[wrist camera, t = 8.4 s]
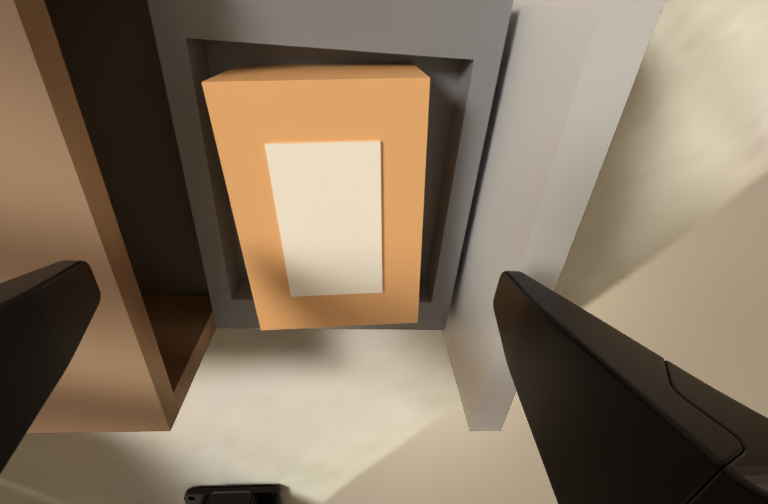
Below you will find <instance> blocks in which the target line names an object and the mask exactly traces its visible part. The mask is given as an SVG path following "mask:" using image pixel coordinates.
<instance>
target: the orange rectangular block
mask: <svg viewBox="0 0 768 504" xmlns="http://www.w3.org/2000/svg"><path fill="white" fill-rule="evenodd" d="M202 87H203V91H204V95H205V99H206V103H207V107H208V112H209V116H210V120H211V124H212V128H213V132H214V137H215V141H216V145H217V149H218V153H219V157H220V162H221V166H222V170H223V174H224V178H225V182H226V187H227V191H228V195H229V199H230V203H231V207H232V212H233V216H234V220H235V224H236V228H237V232H238V237H239V241H240V245H241V249H242V253H243V257H244V262H245V266H246V270H247V274H248V278H249V282H250V287H251V291H252V295H253V299H254V303H255V307H256V312H257V316H258V320H259V324H260V328H261V330H281V329H301V328H320V327H340V326H360V325H380V324H399V323H418V306H419V287H420V267H421V248H422V228H423V209H424V189H425V169H426V150H427V130H428V111H429V91H430V77H429V76H427V75H426V74H425V73H424V72H423V71H422V70H420V69H419V68H418V67H417V66H416V65H414V64H413V63H353V64H290V65H239V66H236V67H234V68H232V69H230V70H227V71H225V72H223V73H220V74H218V75H216V76H214V77H211V78H209V79H207V80H205V81H202Z"/></svg>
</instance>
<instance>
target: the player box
mask: <svg viewBox="0 0 768 504" xmlns="http://www.w3.org/2000/svg"><path fill="white" fill-rule="evenodd" d="M62 260H81V261H85V262H87V263H88V264H89V265H90V267H91V269H92V272H93V274H94V277H95V279H96V282H97V284H98V287H99V289H100V293H101V299H100V303H99V305H98V307H97V310H96V312H95V314H94V316H93V318H92V320H91V322H90V324H89V326H88V328H87V330H86V332H85V334H84V336H83V338H82V340H81V342H80V344H79V346H78V348H77V350H76V352H75V354H74V356H73V358H72V360H71V362H70V364H69V366H68V367H67V369H66V371H65V372H64V374H63V376H62V377H61V379H60V381H59V382H58V384H57V385H56V387H55V389H54V390H53V392H52V393H51V395H50V396H49V398H48V400H47V401H46V403H45V404H44V406H43V408H42V409H41V411H40V412H39V414H38V415H37V417H36V419H35V420H34V422H33V423H32V425H31V427H30V428H29V430H28V431H27V433H76V432H140V431H171V428H172V426H173V424H174V422H175V419H176V417H177V415H178V413H179V410H180V408H181V406H182V404H183V401H184V399H185V397H186V395H187V392H188V390H189V388H190V386H191V383H192V381H193V379H194V376H195V374H196V372H197V370H198V367H199V365H200V363H201V361H202V358H203V356H204V354H205V352H206V349H207V347H208V345H209V343H210V340H211V338H212V336H213V334H214V331H215V329H216V324H215V319H214V315H213V310H212V305H211V301H210V296H173V295H141V293H140V290H139V287H138V284H137V281H136V278H135V275H134V272H133V269H132V266H131V263H130V260H129V257H128V254H127V251H126V248H125V245H124V241H123V238H122V235H121V232H120V229H119V226H118V223H117V220H116V217H115V214H114V211H113V208H112V205H111V202H110V199H109V196H108V193H107V190H106V187H105V184H104V181H103V178H102V175H101V172H100V169H99V165H98V162H97V159H96V156H95V153H94V150H93V147H92V144H91V141H90V138H89V135H88V132H87V129H86V126H85V123H84V120H83V117H82V114H81V111H80V108H79V105H78V102H77V99H76V96H75V93H74V90H73V86H72V83H71V80H70V77H69V74H68V71H67V68H66V65H65V62H64V59H63V56H62V53H61V50H60V47H59V44H58V41H57V38H56V35H55V32H54V29H53V26H52V23H51V20H50V17H49V14H48V10H47V7H46V4H45V1H44V0H0V283H2V282H5V281H7V280H10V279H13V278H16V277H18V276H21V275H24V274H26V273H29V272H32V271H34V270H37V269H40V268H43V267H45V266H48V265H51V264H53V263H56V262H59V261H62Z"/></svg>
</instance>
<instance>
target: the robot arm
mask: <svg viewBox="0 0 768 504" xmlns="http://www.w3.org/2000/svg"><path fill="white" fill-rule="evenodd" d="M100 299H101V293H100V289H99V287H98V284H97V282H96V279H95V277H94V274H93V272H92V269H91V267H90V265H89V264H88V263H87V262H85V261H81V260H62V261H59V262H56V263H53V264H51V265H48V266H45V267H43V268H40V269H37V270H34V271H32V272H29V273H26V274H24V275H21V276H18V277H16V278H13V279H10V280H7V281H5V282H2V283H0V474H1V472H2V471H3V469H4V468H5V466H6V465H7V463H8V461H9V460H10V458H11V457H12V455H13V453H14V452H15V450H16V449H17V447H18V446H19V444H20V442H21V441H22V439H23V438H24V436H25V434H26V433H27V431H28V430H29V428H30V427H31V425H32V423H33V422H34V420H35V419H36V417H37V415H38V414H39V412H40V411H41V409H42V408H43V406H44V404H45V403H46V401H47V400H48V398H49V396H50V395H51V393H52V392H53V390H54V389H55V387H56V385H57V384H58V382H59V381H60V379H61V377H62V376H63V374H64V372H65V371H66V369H67V367H68V366H69V364H70V362H71V360H72V358H73V356H74V354H75V352H76V350H77V348H78V346H79V344H80V342H81V340H82V338H83V336H84V334H85V332H86V330H87V328H88V326H89V324H90V322H91V320H92V318H93V316H94V314H95V312H96V310H97V307H98V305H99V303H100ZM493 308H494V313H495V317H496V321H497V325H498V330H499V334H500V338H501V342H502V346H503V350H504V354H505V358H506V362H507V366H508V368H509V371H510V374H511V377H512V380H513V383H514V385H515V388H516V391H517V393H518V396H519V399H520V402H521V404H522V407H523V409H524V412H525V415H526V418H527V421H528V423H529V426H530V429H531V431H532V434H533V437H534V440H535V442H536V445H537V448H538V450H539V453H540V456H541V458H542V461H543V464H544V467H545V469H546V472H547V475H548V477H549V480H550V483H551V486H552V488H553V491H554V494H555V496H556V499H557V502H558V504H768V418H766V417H764V416H762V415H761V414H759V413H757V412H755V411H753V410H751V409H750V408H748V407H746V406H745V405H743V404H741V403H739V402H737V401H736V400H734V399H732V398H730V397H728V396H727V395H725V394H723V393H721V392H719V391H718V390H716V389H714V388H712V387H711V386H709V385H707V384H705V383H704V382H702V381H701V380H699V379H697V378H695V377H694V376H692V375H691V374H689V373H687V372H686V371H684V370H682V369H680V368H679V367H677V366H676V365H674V364H672V363H671V362H669V361H664V359H663V358H662V357H661V356H659V355H657V354H656V353H654V352H652V351H651V350H649V349H648V348H646V347H644V346H642V345H641V344H639V343H638V342H636V341H634V340H633V339H631V338H629V337H628V336H626V335H625V334H623V333H621V332H620V331H618V330H616V329H615V328H613V327H611V326H610V325H608V324H607V323H605V322H603V321H602V320H600V319H598V318H597V317H595V316H593V315H592V314H590V313H588V312H587V311H585V310H583V309H582V308H580V307H579V306H577V305H575V304H574V303H572V302H570V301H569V300H567V299H565V298H564V297H562V296H560V295H559V294H557V293H556V292H554V291H552V290H551V289H549V288H547V287H546V286H544V285H542V284H541V283H539V282H537V281H536V280H534V279H533V278H531V277H529V276H528V275H526V274H524V273H523V272H521V271H504V272H502V273H501V275H500V278H499V281H498V285H497V288H496V292H495V295H494V299H493ZM184 500H185V503H186V504H283V498H282V490H281V488H280V487H277V486H261V487H227V488H193V489H188V490H187V491H186V493H185V496H184Z"/></svg>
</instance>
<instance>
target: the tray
mask: <svg viewBox="0 0 768 504" xmlns="http://www.w3.org/2000/svg"><path fill="white" fill-rule="evenodd" d="M147 2H148V7H149V12H150V16H151V21H152V26H153V31H154V35H155V40H156V45H157V50H158V54H159V59H160V64H161V69H162V73H163V78H164V83H165V87H166V92H167V97H168V102H169V106H170V111H171V116H172V121H173V125H174V130H175V135H176V140H177V144H178V149H179V154H180V159H181V163H182V168H183V173H184V177H185V182H186V187H187V192H188V196H189V201H190V206H191V211H192V215H193V220H194V225H195V230H196V234H197V239H198V244H199V248H200V253H201V258H202V263H203V267H204V272H205V277H206V282H207V286H208V291H209V296H210V301H211V305H212V310H213V315H214V319H215V324H216V328H260V324H259V320H258V316H257V312H256V307H255V303H254V299H253V295H252V291H251V287H250V282H249V278H248V274H247V270H246V266H245V262H244V257H243V253H242V249H241V245H240V241H239V237H238V232H237V228H236V224H235V220H234V216H233V212H232V207H231V203H230V199H229V195H228V191H227V187H226V182H225V178H224V174H223V170H222V166H221V162H220V157H219V153H218V149H217V145H216V141H215V137H214V132H213V128H212V124H211V120H210V116H209V112H208V107H207V103H206V99H205V95H204V91H203V87H202V81H205V80H207V79H209V78H211V77H214V76H216V75H218V74H220V73H223V72H225V71H227V70H230V69H232V68H234V67H236V66H239V65H290V64H353V63H413V64H414V65H416V66H417V67H418V68H419V69H420V70H422V71H423V72H424V73H425V74H426V75H427V76H429V77H430V91H429V111H428V130H427V150H426V169H425V189H424V209H423V228H422V248H421V267H420V287H419V306H418V323H399V324H380V325H360V326H340V327H320V328H301V329H415V330H442V332H443V336H444V340H445V343H446V347H447V351H448V354H449V358H450V361H451V365H452V369H453V372H454V376H455V380H456V383H457V387H458V390H459V394H460V398H461V401H462V405H463V409H464V412H465V415H466V419H467V423H468V427H469V430H470V431H501V429H502V427H503V424H504V421H505V419H506V416H507V414H508V411H509V408H510V406H511V403H512V400H513V397H514V395H515V392H516V388H515V385H514V383H513V380H512V377H511V374H510V371H509V368H508V366H507V362H506V358H505V354H504V350H503V346H502V342H501V338H500V334H499V330H498V325H497V321H496V317H495V313H494V308H493V299H494V295H495V292H496V288H497V285H498V281H499V278H500V275H501V273H502V272H504V271H521V272H523V273H524V274H526V275H528V276H529V277H531V278H533V279H534V280H536V281H537V282H539V283H541V284H542V285H544V286H546V287H547V288H549V289H551V290H552V291H554V290H555V288H556V285H557V283H558V280H559V277H560V275H561V272H562V269H563V267H564V264H565V262H566V259H567V256H568V254H569V251H570V248H571V246H572V243H573V241H574V238H575V235H576V233H577V230H578V227H579V225H580V222H581V220H582V217H583V214H584V212H585V209H586V207H587V204H588V201H589V199H590V196H591V193H592V191H593V188H594V186H595V183H596V180H597V178H598V175H599V172H600V170H601V167H602V165H603V162H604V159H605V157H606V154H607V152H608V149H609V146H610V144H611V141H612V138H613V136H614V133H615V131H616V128H617V125H618V123H619V120H620V117H621V115H622V112H623V110H624V107H625V104H626V102H627V99H628V96H629V94H630V91H631V89H632V86H633V83H634V81H635V78H636V76H637V73H638V70H639V68H640V65H641V62H642V60H643V57H644V55H645V52H646V49H647V47H648V44H649V41H650V39H651V36H652V34H653V31H654V28H655V26H656V23H657V21H658V18H659V15H660V13H661V10H662V7H663V5H664V2H665V0H147Z"/></svg>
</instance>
